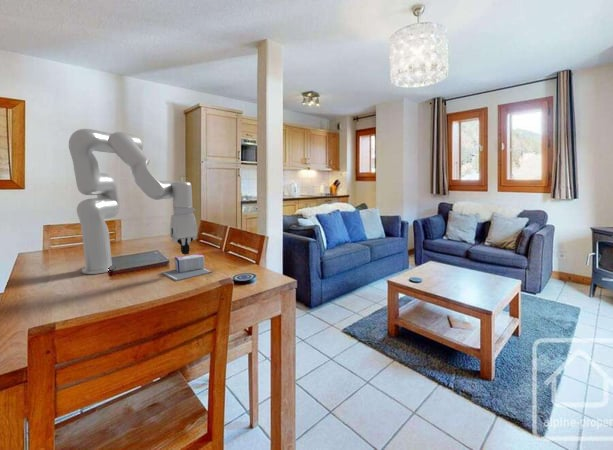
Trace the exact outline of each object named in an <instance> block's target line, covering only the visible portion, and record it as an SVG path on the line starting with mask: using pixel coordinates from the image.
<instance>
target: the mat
mask: <svg viewBox="0 0 613 450" xmlns="http://www.w3.org/2000/svg"><path fill="white" fill-rule="evenodd" d="M211 273H213V271H212V270H208V269H207V268H202V269H196V270H190V271H185V272H178V271H177V270H176V269H172V270H169V271H168V270H167V271H163V272H161V275H163V276H165V277H166V278H169V279H171V280H173V281H175V282H179V281H183V280H187V279H190V278H194V277H200V276H203V275H207V274H211Z"/></svg>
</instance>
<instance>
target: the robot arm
mask: <svg viewBox="0 0 613 450" xmlns="http://www.w3.org/2000/svg"><path fill="white" fill-rule="evenodd" d="M143 146H144V144H143V142H142V140H141V139H140V138H139V137H138V136H136V135H134V134H130V133H127V132H121V131H116V132H113V133H112V132H111V133H110V132H106V131H101V130H97V129H91V128H81V129H77V130H75V131H74V132H73V133H72V134H71V135H70V137H69V140H68V150H69V154H70V156H71V159H72V165H73V171H74V176H75V182H76V188H77V190H78V192H79V193H80V194H82V195H85V196H96V197H94V198H86V199H83V200H81V201H80V202H78V204H77V207H76V214H77V217H78V219H79V223H80V228H81V236H82V243H83V244H82V245H83V253H84V255H83V256H84V262H85V263H84V264H85V267H83V268H82V269H81V273H82V274H86V275H98V274H103V273H104V274H105V273H109V272H110V271H109V269H108V268H109V267H110V266H112V264H113V262H112V254H111V253H112V251H111V241H110V232H109V227H108V225H107V222H106V221H105V220H107V219H112V218H115V217H117V215H118V214H119V213H120V210H121V209H120V201H119V200H120V199H119V193H118V186H117V183H116V181H115V179H114V178H113V176H111V175H110V174H108V173H105V172H100V168H99V161H98V160H97V158H96V156H95V155H94V153H93V152H94V151H95V152H99V153H100V152H101V153H106V154H107V153H109V154H110V153H111V154H116V155H117V157H119V159H120V160H121V161H122V162H123V163H124V164H125V165H126V166H127V167H128V168H129V169H130V171H131V174H132V177H133V181H134V182H135V185H136V186H137V187H139V189H140V190H141V191H142V192H143V193H144V194H145V195H146V196H147V197H148V198H150V199H152V200H154V201H155V200H156V201H161V200H169V199H172V207H173V208H172V211H173V212H172V213H173V214H171V215H170V222H169V223H170V224H169V234H170V238H171V242H173V243H178V244H179V245H180V252H181V254H183V256H187V255H190V245H191V243H192V242H193V241H195V240H196V239H198V225H197V219H196V216H195V213H194V212H195V211H196V208H195V207H193V189H192V183H191V182H189V181H173V180H172V181H170V180H158V179H157V178H156V177H155V176H154V175H153V174H152V173H151V171H150V170H149V168H148V166H149V165H150V161H151V160H150V158H149V156H148V155H147V154H146V153H145V152H144V151H143V148H144V147H143ZM108 271H109V272H108Z"/></svg>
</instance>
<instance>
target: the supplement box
mask: <svg viewBox="0 0 613 450" xmlns="http://www.w3.org/2000/svg"><path fill="white" fill-rule="evenodd" d="M174 264H175V266H174V267H175V270H177V271H178V272H185V271H190V270H196V269H202V268H205V267H206V266H205V256H204V255H203V254H202V253H197V254H196V253H195V254H191V255H190V254H187V255H183V256H175V257H174ZM205 269H206V268H205Z"/></svg>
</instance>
